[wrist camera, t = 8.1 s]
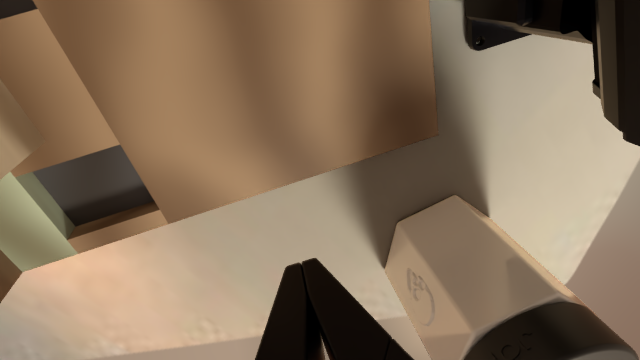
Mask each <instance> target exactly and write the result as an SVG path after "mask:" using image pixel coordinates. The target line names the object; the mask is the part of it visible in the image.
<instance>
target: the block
mask: <svg viewBox="0 0 640 360" xmlns="http://www.w3.org/2000/svg"><path fill="white" fill-rule="evenodd" d="M44 142H45V140H44V138H43V137H42V136H41V134H40V133H39V131H38V130H37V129H36V127H35V126H34V125H33V123H32V122H31V120H30V119H29V118H28V116H27V115H26V114H25V112H24V111H23V109H22V108H21V107H20V105H19V104H18V103H17V101H16V100H15V99H14V97H13V96H12V94H11V93H10V92H9V90H8V89H7V88H6V86H5V85H4V83H3V82H2V81H1V79H0V180H1V179H2V178H3V177H4V176H5V175H7V174H8V173H9V172H10V171H11V170H12V169H14V168H15V167H16V166H17V165H18V164H20V163H21V162H22V161H23V160H24V159H25V158H27V157H28V156H29V155H30V154H31V153H32V152H34V151H35V150H36V149H37V148H38V147H40V146H41V145H42V144H43V143H44Z"/></svg>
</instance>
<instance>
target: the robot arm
mask: <svg viewBox="0 0 640 360" xmlns="http://www.w3.org/2000/svg"><path fill="white" fill-rule="evenodd" d="M465 14H466V16H467V24H468V46H469V47H470V49H473V50H476V51H480V50H484V49H487V48H490V47H493V46H496V45H500V44H503V43H506V42H509V41H512V40H515V39H519V38H522V37H525V36H528V35H531V34H535V35H541V36H547V37H553V38H559V39H564V40H570V41H576V42H582V43H588V44H593V57H594V72H595V79H594V80H593V82H592V85H593V93H594V94H595V95H596V96H598V97H599V98H600V99H601V105H602V109H603V113H604V117H605V118H606V119H607V120H608V121H609V122H611V123H612V124H613V125H614V126H615V127H616V128H617V129H618V130H620V131H622V132H623V139H624V140H625V141H627V142H630V143H632V144H635V145H638V146H640V0H465ZM478 37H480V42H479V43H478V44H476V41H477V39H478ZM322 340H323V342H322ZM323 343H324V346H325V348H326V351H327V354H328V356H329V359H330V360H414V359H413V358H412V357H411V356H410V355H409V354H408V353H407V352H406V351H404V349H403V348H402V347H401V346H400V345H399V344H398V343H397V342H396V341H395V340H394V339H392V337H391V336H390V335H389V334H388V333H387V332H386V331H385V330H384V329H383V328H382V326H381V325H380V324H378V322H377V321H376V320H375V319H374V318H373V317H372V316H371V315H370V314H369V313H368V312H367V311H366V310H365V309H364V308H363V307H362V305H361V304H360V303H359V302H358V301H357V300H356V299H355V298H354V297H353V296H352V295H351V294H350V293H349V292H348V291H347V290H346V289H345V288H344V287H343V286H342V285H341V284H340V282H339V281H338V280H337V279H336V278H335V277H334V276H333V275H332V274H331V273H330V272H329V271H328V270H327V269H326V268H325V267H324V266H323V265H322V264H321V263H320V262H319V261H318V260H317V259H316V258H312V259H309V260H305V261H303V262H302V265H301V263H295V264H292V265H289V266H287V267H286V268H285V270H284V273H283V276H282V279H281V282H280V285H279V288H278V291H277V295H276V298H275V301H274V304H273V307H272V310H271V313H270V316H269V319H268V322H267V325H266V328H265V331H264V334H263V337H262V340H261V343H260V346H259V349H258V352H257V355H256V358H255V360H325V355H324V348H323Z"/></svg>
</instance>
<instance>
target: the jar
mask: <svg viewBox="0 0 640 360" xmlns="http://www.w3.org/2000/svg"><path fill="white" fill-rule="evenodd" d="M385 273H386V275H387V277H388V279H389V281H390V283H391V285H392V286H393V288H394V290H395V292H396V294H397V296H398V298H399V300H400V301H401V303H402V305H403V307H404V309H405V311H406V313H407V315H408V316H409V318H410V320H411V322H412V324H413V326H414V328H415V329H416V331H417V333H418V335H419V337H420V339H421V341H422V343H423V344H424V346H425V348H426V350H427V352H428V354H429V355H430V358H431V359H432V360H639V359H638V356H637V354H636V352H635V351H634V350H633V349H632V348H631V347H630V346H629V345H628V344H627V343H626V342H625V341H624V340H623V339H621V338H620V337H619V336H618V335H617V334H616V333H615V332H614V331H613V330H611V329H610V328H609V327H608V326H607V325H606V324H605V323H604V322H603V321H601V319H599V318H598V316H597V315H596V313H594V312H593V311H592V310H591V309H590V308H589V307H588V306H587V305H586V304H584V303H583V302H582V301H581V300H580V299H579V298H578V297H577V296H576V295H574V294H573V293H572V292H571V291H570V290H569V289H568V288H567V287H566V286H565V285H563V284H562V283H561V282H560V281H559V280H558V279H557V278H556V277H555V276H553V275H552V274H551V273H550V272H549V271H548V270H547V269H546V268H545V267H544V266H542V265H541V264H540V263H539V262H538V261H537V260H536V259H535V258H534V257H532V256H531V255H530V254H529V253H528V252H527V251H526V250H525V249H524V248H523V247H521V246H520V245H519V244H518V243H517V242H516V241H515V240H514V239H513V238H511V237H510V236H509V235H508V234H507V233H506V232H505V231H504V230H503V229H502V228H500V227H499V226H498V225H497V224H496V223H495V222H494V221H493V220H492V219H490V218H489V217H487V216H486V215H484V214H483V213H481V212H480V211H479V210H477V209H476V208H474V207H473V206H471V205H470V204H468V203H467V202H465V201H464V200H463V199H461V198H460V197H458V196H457V195H453V196H451V197H449V198H447V199H445V200H443V201H441V202H438V203H436V204H434V205H432V206H430V207H428V208H426V209H424V210H422V211H420V212H418V213H416V214H414V215H412V216H410V217H408V218H405V219H403V220H401V221H399V222H398V223H397V225H396V229H395V233H394V237H393V241H392V244H391V248H390V252H389V256H388V260H387V263H386V267H385Z"/></svg>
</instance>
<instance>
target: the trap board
mask: <svg viewBox="0 0 640 360" xmlns="http://www.w3.org/2000/svg"><path fill="white" fill-rule="evenodd" d="M0 79H1V81H2V82H3V83H4V85H5V86H6V88H7V89H8V90H9V92H10V93H11V94H12V96H13V97H14V99H15V100H16V101H17V103H18V104H19V105H20V107H21V108H22V109H23V111H24V112H25V114H26V115H27V116H28V118H29V119H30V120H31V122H32V123H33V125H34V126H35V127H36V129H37V130H38V131H39V133H40V134H41V136H42V137H43V138H44V140H45V142H44V143H43V144H42V145H41V146H40V147H38V148H37V149H36V150H35V151H34V152H32V153H31V154H30V155H29V156H28V157H27V158H25V159H24V160H23V161H22V162H21V163H20V164H18V165H17V166H16V167H15V168H14V169H12V170H11V171H10V172H9V173H8V174H7V175H5V176H4V177H3V178H2V179H1V180H0V303H1V301H2V300H3V298H4V297H5V296H6V294H7V293H8V292H9V290H10V289H11V287H12V286H13V285H14V283H15V282H16V281H17V279H18V278H19V276H20V275H21V274H22V272H24V271H28V270H31V269H34V268H37V267H40V266H43V265H46V264H49V263H52V262H55V261H58V260H61V259H64V258H67V257H70V256H73V255H76V254H79V253H82V252H85V251H88V250H91V249H94V248H97V247H100V246H103V245H106V244H109V243H112V242H115V241H118V240H122V239H125V238H128V237H131V236H134V235H137V234H140V233H143V232H146V231H149V230H152V229H155V228H158V227H161V226H164V225H167V224H170V223H173V222H176V221H179V220H182V219H185V218H188V217H191V216H194V215H197V214H200V213H203V212H206V211H209V210H212V209H216V208H219V207H222V206H225V205H228V204H231V203H234V202H237V201H240V200H243V199H246V198H249V197H252V196H255V195H258V194H261V193H264V192H267V191H270V190H273V189H276V188H279V187H282V186H285V185H288V184H291V183H294V182H297V181H300V180H303V179H306V178H310V177H313V176H316V175H319V174H322V173H325V172H328V171H331V170H334V169H337V168H340V167H343V166H346V165H349V164H352V163H355V162H358V161H361V160H364V159H367V158H370V157H373V156H376V155H379V154H382V153H385V152H388V151H391V150H394V149H397V148H400V147H404V146H407V145H410V144H413V143H416V142H419V141H422V140H425V139H428V138H431V137H434V136H437V135H438V122H437V108H436V94H435V80H434V66H433V52H432V38H431V24H430V10H429V0H0Z"/></svg>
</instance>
